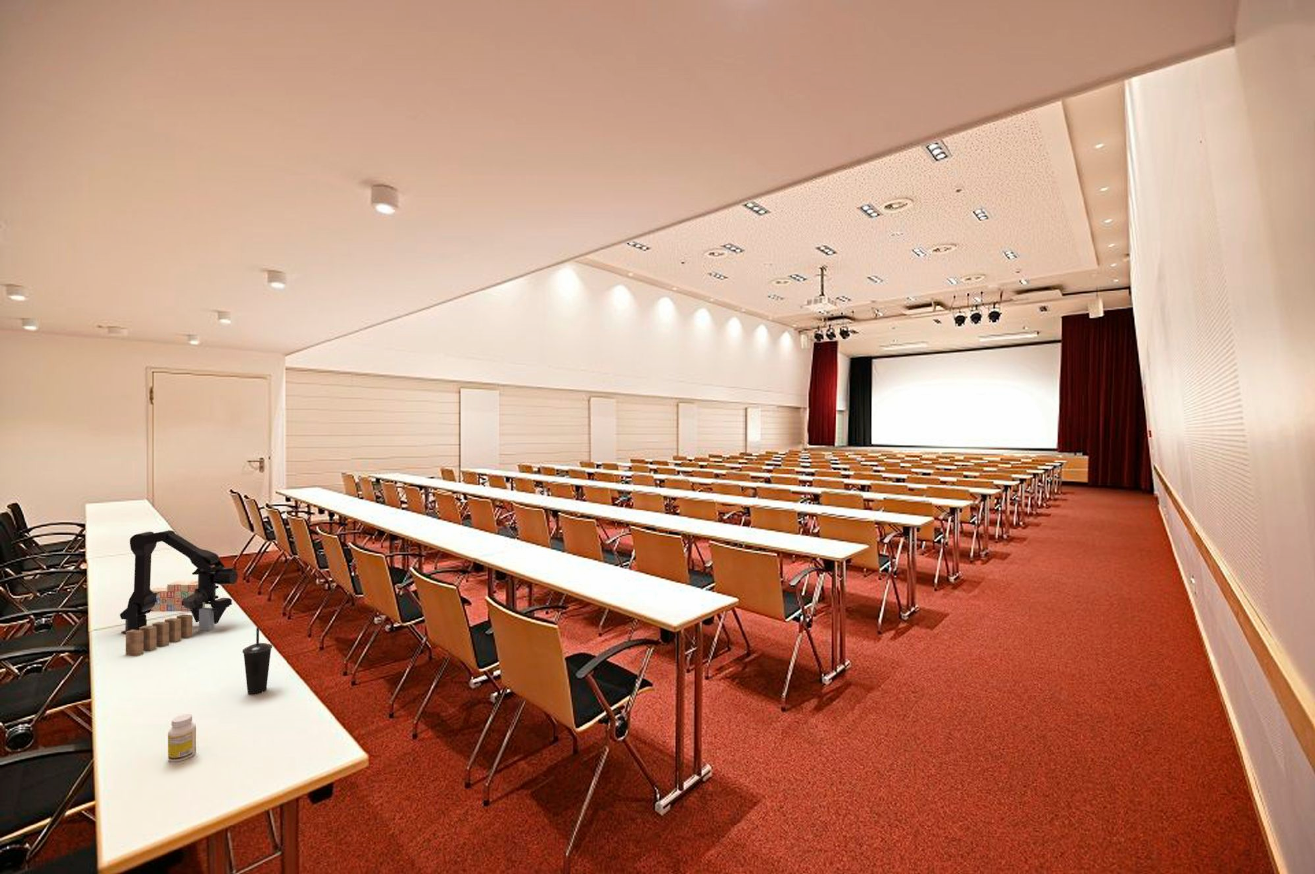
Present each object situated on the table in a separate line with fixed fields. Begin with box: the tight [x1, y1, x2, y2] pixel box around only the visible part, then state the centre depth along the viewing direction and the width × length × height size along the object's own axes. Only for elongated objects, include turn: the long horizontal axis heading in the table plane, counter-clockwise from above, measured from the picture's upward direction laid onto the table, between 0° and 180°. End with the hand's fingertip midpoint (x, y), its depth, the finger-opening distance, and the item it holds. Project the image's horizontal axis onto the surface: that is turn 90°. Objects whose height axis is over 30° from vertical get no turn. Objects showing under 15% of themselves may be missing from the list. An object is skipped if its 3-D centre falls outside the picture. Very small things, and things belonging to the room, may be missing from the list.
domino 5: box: [176, 613, 194, 640], centre depth 224 cm, size 5×2×8 cm, turn 79°
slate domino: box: [198, 607, 215, 632], centre depth 233 cm, size 5×2×8 cm, turn 79°
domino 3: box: [151, 621, 170, 648], centre depth 215 cm, size 5×2×8 cm, turn 79°
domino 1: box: [125, 630, 144, 657], centre depth 207 cm, size 5×2×8 cm, turn 79°
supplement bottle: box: [167, 713, 197, 763], centre depth 143 cm, size 5×5×10 cm
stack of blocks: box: [150, 580, 206, 613], centre depth 258 cm, size 21×6×12 cm, turn 92°
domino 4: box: [164, 617, 182, 644], centre depth 220 cm, size 5×2×8 cm, turn 79°
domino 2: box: [139, 625, 157, 653], centre depth 211 cm, size 5×2×8 cm, turn 79°
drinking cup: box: [242, 627, 273, 696], centre depth 179 cm, size 8×8×20 cm
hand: (206, 622), depth 233 cm, fingers open, 9 cm apart
